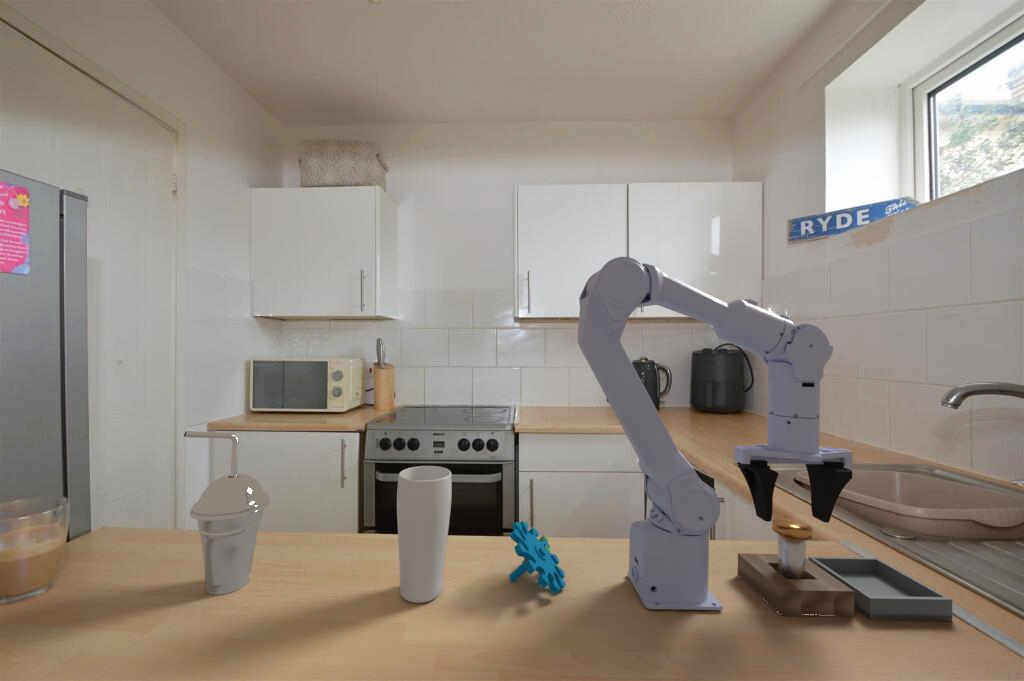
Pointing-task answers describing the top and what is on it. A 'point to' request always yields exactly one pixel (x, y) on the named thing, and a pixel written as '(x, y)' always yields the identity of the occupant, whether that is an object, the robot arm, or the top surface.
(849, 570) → the tray
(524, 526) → the gear
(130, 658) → the top surface
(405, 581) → the drinking glass
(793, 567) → the pin
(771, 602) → the holder block
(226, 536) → the cup with straw
